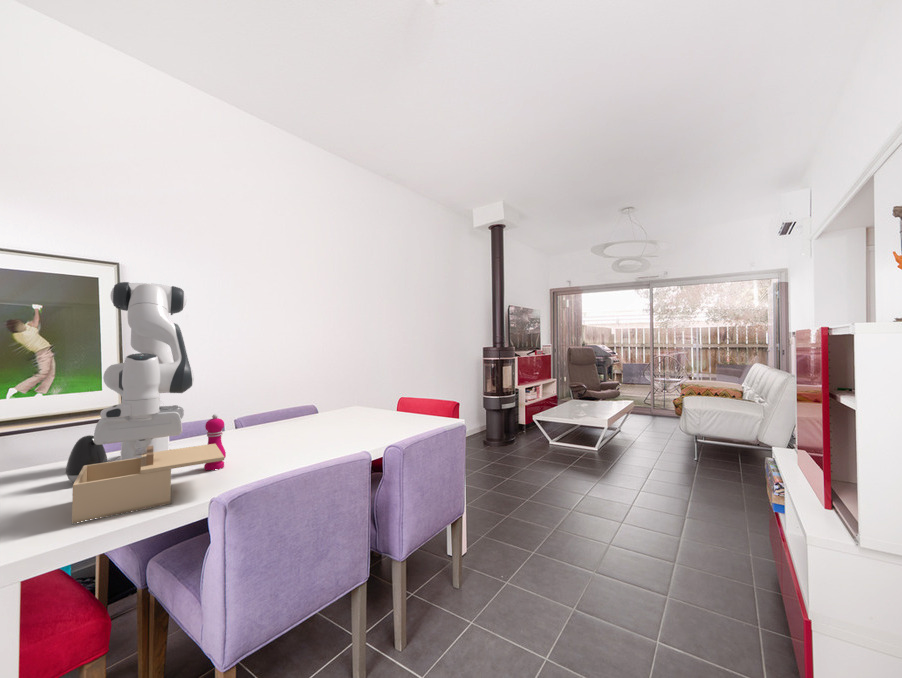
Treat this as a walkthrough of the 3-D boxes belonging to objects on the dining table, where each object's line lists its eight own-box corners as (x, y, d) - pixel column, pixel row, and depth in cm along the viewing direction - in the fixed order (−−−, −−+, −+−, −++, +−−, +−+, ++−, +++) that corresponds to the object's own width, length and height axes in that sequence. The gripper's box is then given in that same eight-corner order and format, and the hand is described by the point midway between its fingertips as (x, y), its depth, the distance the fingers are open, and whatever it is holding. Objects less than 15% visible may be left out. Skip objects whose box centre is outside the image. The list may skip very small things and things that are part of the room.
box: (83, 499, 110) (83, 465, 110) (167, 483, 123) (168, 453, 123) (71, 524, 94) (72, 485, 95) (170, 503, 107) (171, 469, 107)
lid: (141, 456, 119) (142, 444, 119) (215, 446, 131) (215, 435, 131) (140, 473, 103) (140, 459, 103) (224, 460, 115) (224, 447, 115)
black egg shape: (77, 488, 118) (78, 440, 119) (57, 484, 122) (59, 437, 122) (115, 477, 128) (116, 433, 128) (96, 474, 131) (97, 431, 132)
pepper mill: (230, 465, 141) (231, 413, 141) (213, 472, 134) (214, 416, 134) (215, 464, 143) (215, 412, 143) (197, 470, 136) (198, 415, 136)
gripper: (183, 403, 120) (182, 446, 120) (95, 410, 107) (94, 458, 107) (184, 405, 115) (183, 450, 115) (93, 413, 102) (92, 463, 102)
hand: (140, 454), depth 111 cm, fingers closed
